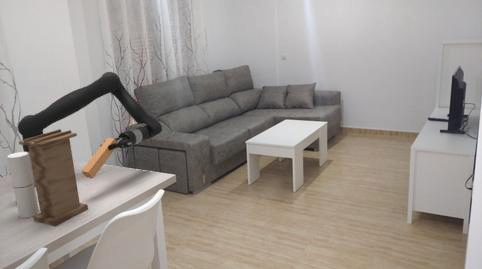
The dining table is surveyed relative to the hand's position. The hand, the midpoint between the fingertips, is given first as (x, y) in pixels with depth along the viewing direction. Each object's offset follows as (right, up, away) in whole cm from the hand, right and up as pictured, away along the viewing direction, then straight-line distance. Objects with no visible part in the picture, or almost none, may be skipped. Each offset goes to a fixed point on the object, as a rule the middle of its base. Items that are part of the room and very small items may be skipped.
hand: (105, 147), depth 181 cm
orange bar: (-1, -6, -1) cm, 6 cm away
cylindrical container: (-25, -26, -16) cm, 40 cm away
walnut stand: (-11, -26, -19) cm, 34 cm away
